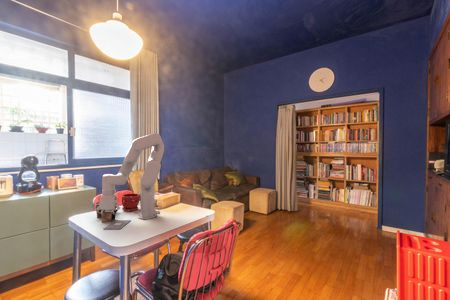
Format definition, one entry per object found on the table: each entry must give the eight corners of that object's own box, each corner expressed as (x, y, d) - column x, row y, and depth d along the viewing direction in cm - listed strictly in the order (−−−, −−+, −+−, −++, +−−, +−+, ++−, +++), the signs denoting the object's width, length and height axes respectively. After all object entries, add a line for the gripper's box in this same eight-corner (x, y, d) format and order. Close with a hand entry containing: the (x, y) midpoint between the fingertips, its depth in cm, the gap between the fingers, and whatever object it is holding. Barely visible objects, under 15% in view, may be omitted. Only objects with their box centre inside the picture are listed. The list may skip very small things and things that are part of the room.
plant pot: (124, 213, 162) (124, 197, 162) (119, 209, 171) (119, 194, 171) (142, 210, 171) (142, 195, 170) (136, 206, 180) (136, 192, 180)
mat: (130, 221, 145) (130, 220, 145) (120, 229, 130) (120, 228, 130) (115, 221, 144) (115, 220, 144) (103, 229, 129) (103, 228, 129)
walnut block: (115, 219, 148) (115, 210, 148) (110, 222, 142) (110, 213, 142) (106, 219, 148) (106, 210, 148) (101, 222, 142) (101, 213, 142)
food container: (109, 212, 163) (109, 199, 162) (113, 214, 159) (113, 200, 159) (91, 217, 152) (91, 203, 152) (95, 218, 149) (95, 204, 149)
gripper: (123, 191, 149) (123, 217, 149) (98, 191, 148) (98, 217, 148) (118, 193, 141) (118, 221, 141) (92, 193, 141) (92, 221, 141)
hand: (108, 219), depth 145 cm, fingers closed on walnut block, 6 cm apart
